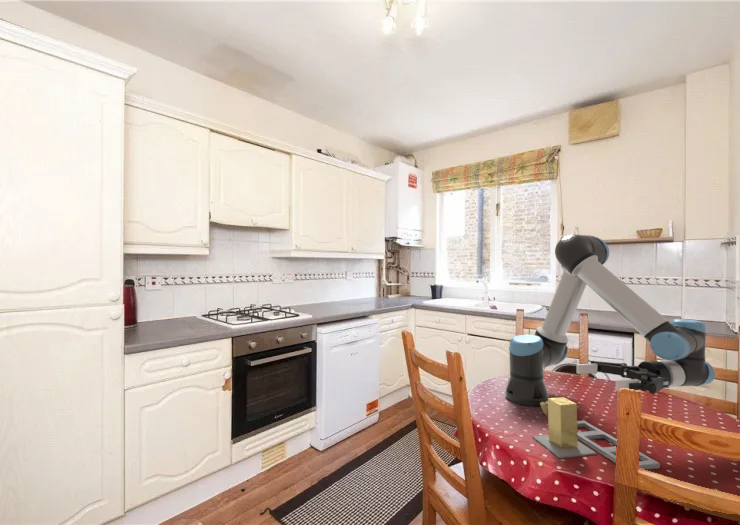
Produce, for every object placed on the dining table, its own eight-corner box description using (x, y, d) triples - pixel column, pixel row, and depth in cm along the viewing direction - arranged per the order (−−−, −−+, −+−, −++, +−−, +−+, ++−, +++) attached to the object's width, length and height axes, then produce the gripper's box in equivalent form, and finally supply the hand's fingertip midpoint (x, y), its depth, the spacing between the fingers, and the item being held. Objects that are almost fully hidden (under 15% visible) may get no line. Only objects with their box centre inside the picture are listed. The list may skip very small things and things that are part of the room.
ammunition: (558, 409, 108) (575, 405, 111) (538, 401, 114) (555, 398, 118) (559, 425, 107) (576, 420, 111) (539, 416, 114) (555, 412, 117)
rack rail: (558, 426, 106) (558, 422, 106) (583, 424, 107) (583, 420, 108) (628, 471, 82) (628, 466, 82) (659, 467, 84) (659, 463, 84)
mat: (532, 437, 99) (532, 436, 99) (566, 434, 101) (566, 433, 101) (559, 458, 88) (559, 456, 88) (596, 454, 90) (596, 452, 90)
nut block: (548, 440, 97) (548, 398, 97) (564, 438, 98) (563, 397, 98) (561, 449, 92) (560, 405, 92) (577, 447, 93) (576, 403, 93)
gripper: (707, 404, 87) (636, 409, 84) (621, 372, 112) (563, 375, 108) (708, 375, 87) (637, 379, 84) (621, 349, 112) (564, 351, 108)
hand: (595, 376), depth 96 cm, fingers open, 13 cm apart
